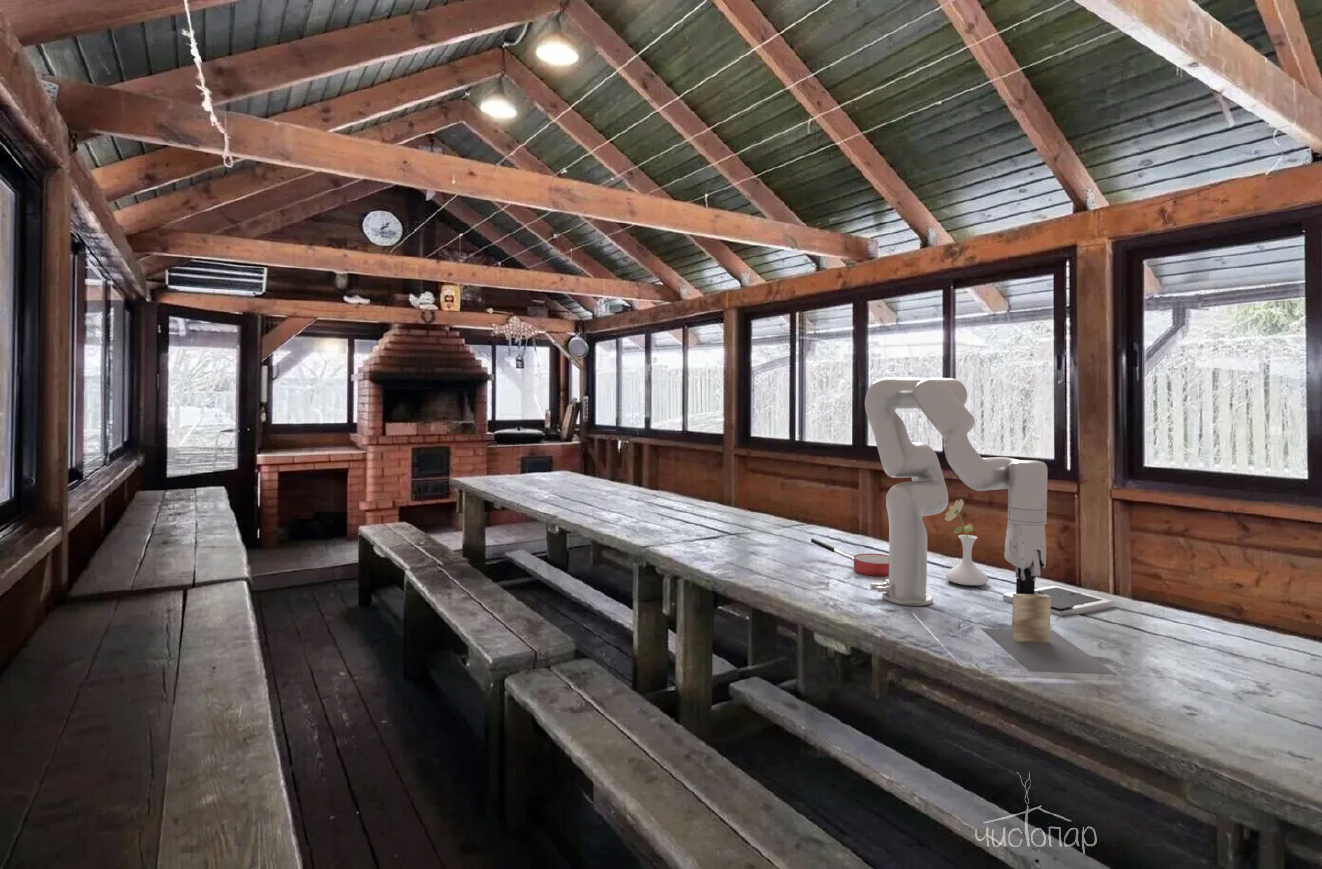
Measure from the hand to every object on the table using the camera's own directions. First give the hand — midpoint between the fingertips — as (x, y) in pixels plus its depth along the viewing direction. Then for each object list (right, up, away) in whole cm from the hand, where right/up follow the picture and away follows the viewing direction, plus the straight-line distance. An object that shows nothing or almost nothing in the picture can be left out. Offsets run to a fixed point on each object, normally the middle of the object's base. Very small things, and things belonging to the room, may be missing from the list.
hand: (1025, 596), depth 145 cm
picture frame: (+22, -9, +25) cm, 35 cm away
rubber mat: (-1, -10, -8) cm, 12 cm away
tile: (0, -9, -3) cm, 9 cm away
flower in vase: (+7, -7, +44) cm, 45 cm away
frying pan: (-21, -7, +64) cm, 68 cm away
